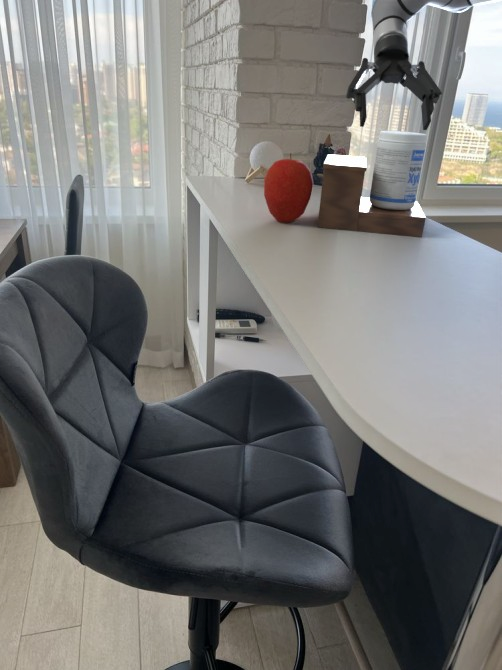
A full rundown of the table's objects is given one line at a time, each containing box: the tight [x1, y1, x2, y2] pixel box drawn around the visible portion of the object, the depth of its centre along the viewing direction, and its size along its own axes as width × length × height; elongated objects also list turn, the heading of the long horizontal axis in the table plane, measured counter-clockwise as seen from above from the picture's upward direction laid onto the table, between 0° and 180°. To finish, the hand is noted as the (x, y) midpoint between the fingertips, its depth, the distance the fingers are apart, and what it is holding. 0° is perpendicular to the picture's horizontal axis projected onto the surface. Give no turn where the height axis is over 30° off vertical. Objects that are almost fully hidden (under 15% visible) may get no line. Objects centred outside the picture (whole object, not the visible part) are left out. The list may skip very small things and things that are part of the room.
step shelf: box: [317, 154, 427, 238], centre depth 107 cm, size 21×16×13 cm
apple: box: [263, 152, 315, 224], centre depth 105 cm, size 10×10×14 cm
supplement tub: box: [369, 130, 428, 210], centre depth 104 cm, size 10×10×15 cm
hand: (395, 124), depth 107 cm, fingers open, 13 cm apart
